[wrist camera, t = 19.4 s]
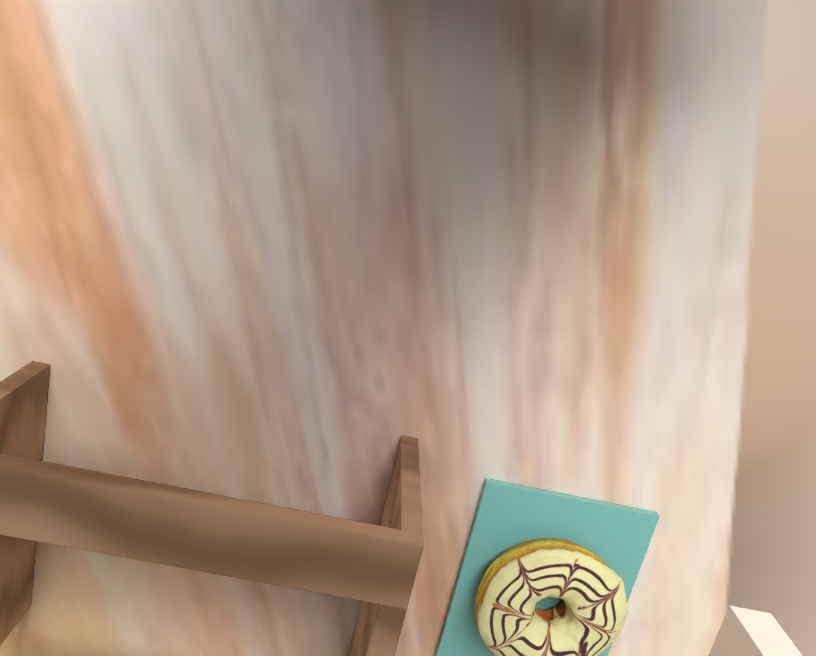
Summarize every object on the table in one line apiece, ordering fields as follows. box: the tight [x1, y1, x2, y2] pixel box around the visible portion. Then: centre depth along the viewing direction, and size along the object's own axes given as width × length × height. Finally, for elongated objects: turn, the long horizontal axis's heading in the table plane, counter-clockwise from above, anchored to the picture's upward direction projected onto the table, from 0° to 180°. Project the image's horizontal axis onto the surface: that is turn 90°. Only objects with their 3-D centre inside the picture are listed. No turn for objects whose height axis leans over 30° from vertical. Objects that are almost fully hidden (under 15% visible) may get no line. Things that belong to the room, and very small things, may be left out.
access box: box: [0, 361, 423, 656], centre depth 45 cm, size 20×27×13 cm
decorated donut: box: [475, 538, 627, 656], centre depth 50 cm, size 10×11×4 cm
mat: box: [435, 478, 659, 656], centre depth 52 cm, size 16×13×1 cm
